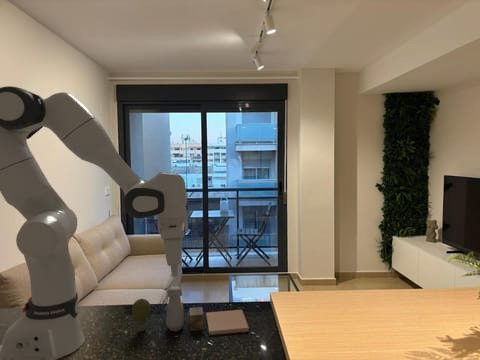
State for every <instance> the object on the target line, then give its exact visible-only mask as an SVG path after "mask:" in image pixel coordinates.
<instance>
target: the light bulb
mask: <svg viewBox="0 0 480 360" xmlns="http://www.w3.org/2000/svg"><path fill="white" fill-rule="evenodd" d="M151 310H152V306H151V303H150V302H149V301H148V300H147V299H145V298H139V299H137V300H135V302H133V304H132V307H131V313H132V315H133V317H134V318H135V321H136V325H137V330H138V331H139V332H144V331H145V330H146V329H147V321H148V319H149V315H150V313H151Z"/></svg>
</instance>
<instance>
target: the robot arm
mask: <svg viewBox="0 0 480 360" xmlns="http://www.w3.org/2000/svg"><path fill="white" fill-rule="evenodd" d="M42 128H47V129H48V130H50V131H51V132H52V133H53V134H54V135H55V136H56V137H57V138H58V139H59V140H60V142H62V144H63V145H64V146H65V147H66V148H67V149H68V150H69V151H70V152H72V153H73V155H75V156H76V157H77V158H79V159H80V160H82V161H84V162H88V163H90V164H93V165H95V166H97V167H98V168H100V169H102V170H103V171H104V172H105V173H107V175H108V176H109V177H110V178H111V179H112V180H113V181H114V183H116V184H117V186H119V188H120V189H121V190H122V192H123V194H124V199H123V207H124V211H125V212H126V213H127V214H128V215H129V216H130V217H131V218H135V219H145V218H146V219H147V218H151V217H153V216H157V233H158V234H159V235H160V238H161V240H163V247H164V248H163V249H164V254H165V258H166V259H165V261H166V264H167V266H170V272H171V277H173V278H175V277H178V276H179V272H178V271H179V266H180V265H181V261H182V250H183V239H184V238H185V234H186V233H187V232H188V231H189V225H188V223H189V222H188V221H189V220H188V211H187V201H188V200H187V199H188V197H187V196H188V195H187V187H186V182H185V179H184V177H183V176H182V175H181V174H178V173H175V172H168V171H160V172H158V173H157V174H156V175H154V176H153V177H151V178H150V179H149V180H146V179H143V178H142V177H139V175H138V174H136V172H135V171H134V170H133V169H132V168H131V167H130V166H129V165H128V163H127V162H126V161H125V160H124V159H123V158H122V156H121V155H120V154H119V153H118V151H117V149H116V147H115V145H114V142H112V140H111V138H110V136H109V134H108V132H107V131H106V130H105V128H104V127H103V125H102V124H101V123H100V122H99V120H98V119H97V118H96V117H95V115H94V114H93V113H92V112H91V111H90V110H89V109H88V108H87V107H86V106H85V105H84V104H83V103H82V102H81V101H79V100H78V99H77V98H75V97H74V96H73V95H72V94H71V93H68V92H56V93H53V94H51V95H50V96H48V97H47V98H42V96H41V95H39V94H36V93H34V92H31V91H29V90H26V89H24V88H21V87H18V86H9V85H8V86H7V85H6V86H2V87H0V194H1V195H2V197H3V199H4V201H5V202H6V203H7V204H8V205H10V206H12V207H13V208H14V209H16V210H17V211H18V213H20V215H22V217H24V219H25V220H26V221H24V223H23V224H22V226H21V227H20V229H19V230H18V232H17V234H16V238H15V242H16V247H17V248H18V250H19V251H20V253H21V254H22V255H23V257H24V260H25V263H26V267H27V269H28V274H29V280H30V282H29V283H30V292H31V294H30V295H31V296H30V297H29V298H28V299H27V302H26V303H24V306H23V307H22V308H21V309H22V313H24V314H23V315H22V316H21V317H20V318H18V319H17V320H16V321H15V322H14V323H13V324H11V325H10V326H9V327H8V329H7V330H6V331H5V332H4V335H3V338H2V343H1V344H0V360H58V359H61V358H63V357H65V356H68V355H70V354H72V353H74V352H75V351H77V350H78V349H80V348H81V347H82V346H83V344H84V343H85V341H86V338H85V336H84V333H83V330H82V327H81V323H80V318H79V312H80V304H79V303H80V300H79V296H78V292H77V288H76V287H77V286H76V268H75V266H74V264H73V261H72V258H71V254H70V249H69V242H70V240H71V239H72V238H73V236H74V235H75V234H76V231H77V229H78V218H77V215H76V213H75V212H74V211H73V210H72V209H71V208H70V207H69V205H67V204H66V202H65V201H64V200H63V198H62V197H61V195H59V193H58V192H57V191H56V190H55V189H54V188H53V186H52V185H51V184H50V182H49V180H48V178H47V177H46V176H45V174H44V172H43V170H42V169H41V167H40V164H39V162H38V161H37V160H36V158H35V156H34V155H33V153H32V151H31V149H30V148H29V145H28V141H27V140H29V139H31V138H32V137H33V136H34V135H35V134H36V133H38V132H39V131H40V130H42Z"/></svg>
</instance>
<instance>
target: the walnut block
mask: <svg viewBox="0 0 480 360" xmlns="http://www.w3.org/2000/svg"><path fill="white" fill-rule="evenodd" d="M189 327H190V328H189V329H190V332H193V331H204V310H203V307H202V306H199V307H189Z"/></svg>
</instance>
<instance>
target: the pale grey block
mask: <svg viewBox="0 0 480 360" xmlns="http://www.w3.org/2000/svg"><path fill="white" fill-rule="evenodd" d="M183 297H184V296H182V295H180V299H181V304H182V309H183V310H184V298H183ZM168 303H169V296H168V297H167V305H168Z"/></svg>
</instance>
